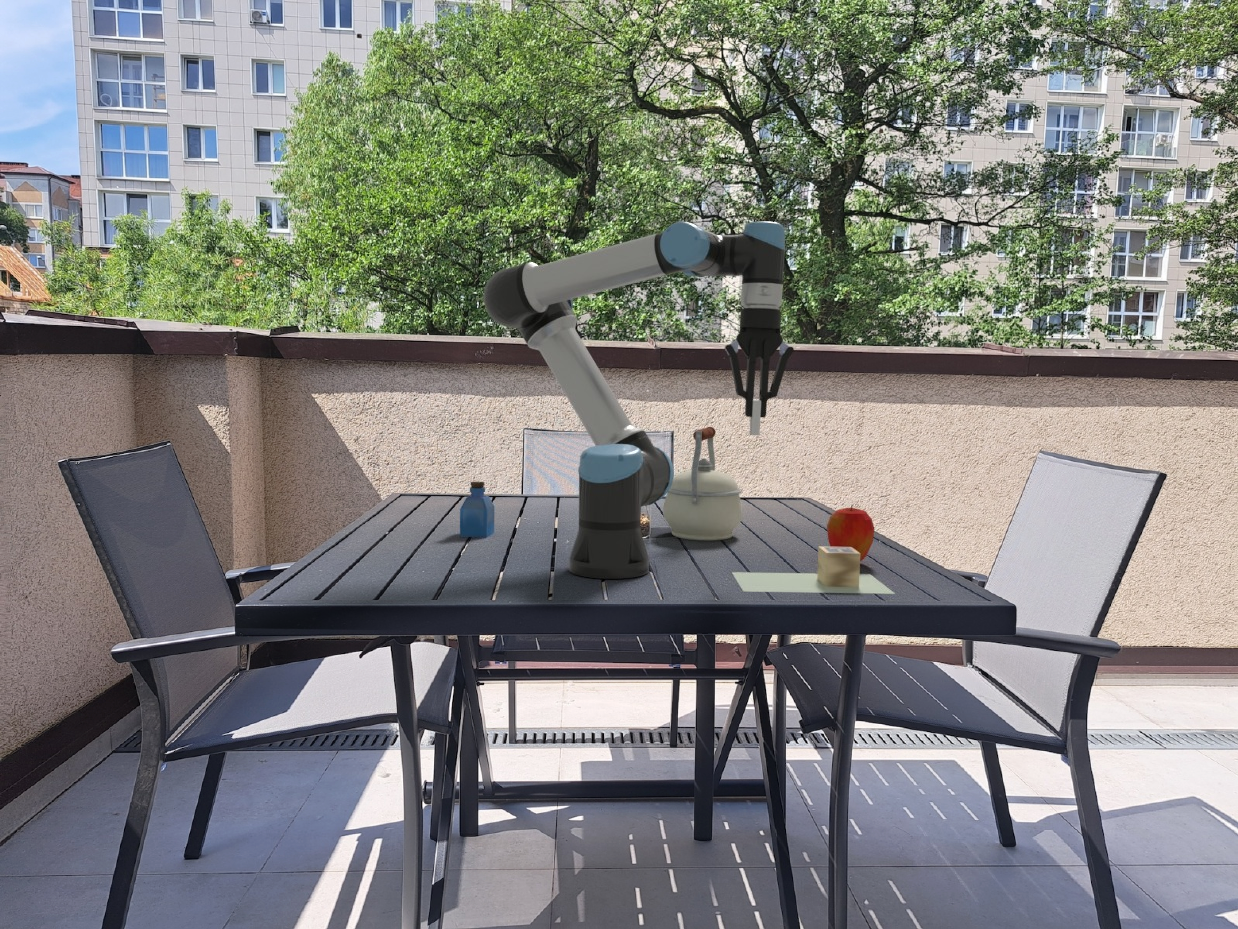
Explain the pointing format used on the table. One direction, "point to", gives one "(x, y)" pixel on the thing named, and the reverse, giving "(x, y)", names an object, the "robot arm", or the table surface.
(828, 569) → the wooden block
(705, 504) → the kettle
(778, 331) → the robot arm
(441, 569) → the table surface
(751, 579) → the felt mat
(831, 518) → the apple
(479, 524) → the blue corked bottle
